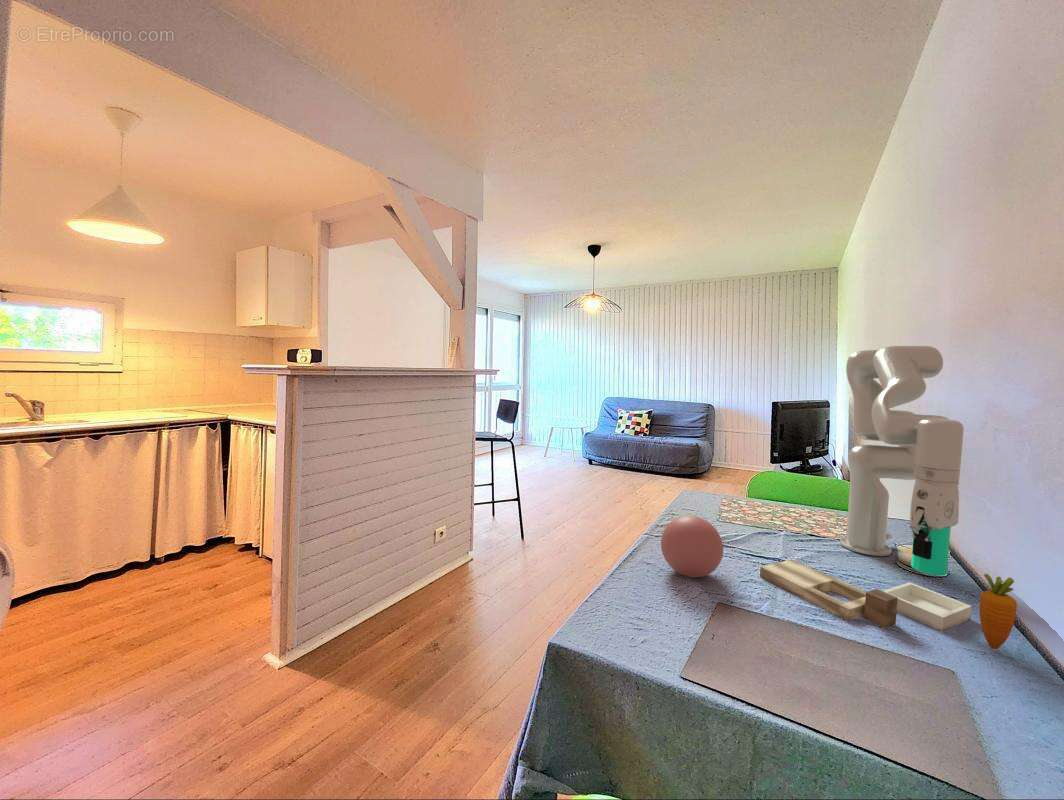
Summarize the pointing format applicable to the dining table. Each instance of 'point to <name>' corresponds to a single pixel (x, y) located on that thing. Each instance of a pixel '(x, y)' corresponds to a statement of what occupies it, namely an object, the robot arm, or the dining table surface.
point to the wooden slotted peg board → (816, 587)
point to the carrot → (997, 611)
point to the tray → (929, 606)
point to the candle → (934, 553)
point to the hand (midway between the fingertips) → (929, 553)
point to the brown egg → (692, 546)
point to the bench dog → (880, 608)
